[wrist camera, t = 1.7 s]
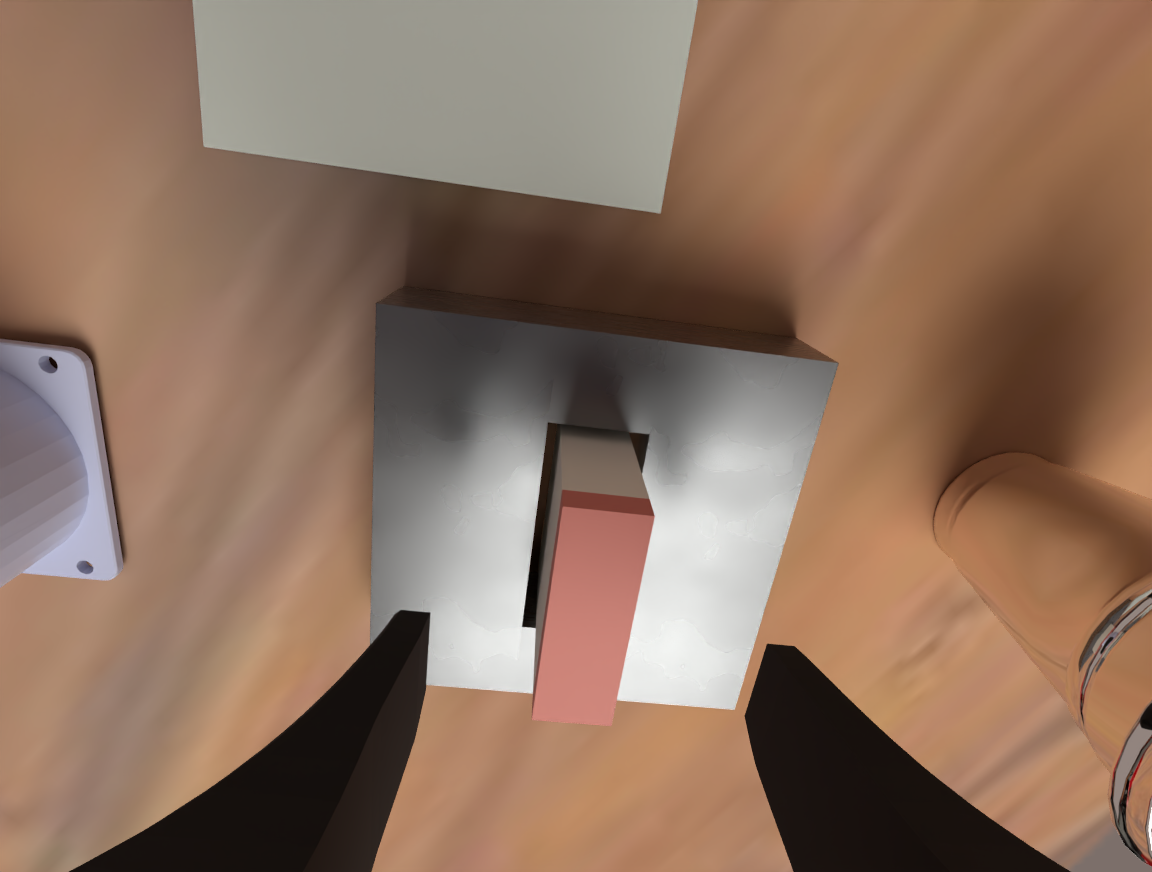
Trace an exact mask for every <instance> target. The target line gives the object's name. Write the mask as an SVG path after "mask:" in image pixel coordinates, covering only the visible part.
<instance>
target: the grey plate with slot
mask: <svg viewBox="0 0 1152 872" xmlns="http://www.w3.org/2000/svg"><path fill="white" fill-rule="evenodd" d="M837 367H838V362H836V361H834V360H833V359H831V358H829V357H828V356H826V355H824V354H823V353H821V352H819V351H818V350H816V349H814V348H812V347H811V346H809V345H807V344H806V343H804V342H802V341H801V340H799V339H797V338H792V337H784V336H777V335H769V334H762V333H754V332H747V331H739V330H731V329H724V328H716V327H709V326H701V325H694V324H686V323H678V322H671V321H663V320H656V319H648V318H640V317H633V316H625V315H618V314H610V313H603V312H595V311H587V310H580V309H572V308H565V307H557V306H550V305H542V304H534V303H527V302H519V301H512V300H504V299H496V298H489V297H481V296H474V295H466V294H459V293H451V292H443V291H436V290H428V289H421V288H413V287H406V286H403V287H402V288H400V289H398V290H397V291H395V292H394V293H392V294H390V295H389V296H387V297H385V298H384V299H382V300H381V301H379V302H377V303H376V337H375V393H374V450H373V506H372V563H371V619H370V645H371V644H372V642H373V641H374V640H375V639H376V638H377V636H378V635H379V634H380V633H381V632H382V630H383V629H384V628H385V626H386V625H387V624H388V623H389V621H390V620H391V619H392V617H393V616H394V615H395V614H396V613H397V612H398V611H400V610H409V611H420V612H431V613H430V629H429V646H428V662H427V679H426V685H435V686H447V687H460V688H472V689H485V690H497V691H509V692H522V693H533V680H534V656H535V633H536V610H537V586H538V572H529V567H530V559H531V551H532V543H533V536H534V528H535V520H536V512H537V504H538V496H539V489H540V481H541V473H542V465H543V457H544V449H545V442H546V434H547V426H548V422H549V423H558V424H566V425H575V426H584V427H592V428H601V429H609V430H618V431H626V432H630V438H631V441H632V444H633V448H634V451H635V454H636V457H637V460H638V464H639V467H640V470H641V473H642V476H643V480H644V483H645V486H646V489H647V492H648V496H649V499H650V502H651V505H652V509H653V512H654V515H655V518H654V523H653V528H652V533H651V537H650V542H649V547H648V552H647V557H646V562H645V566H644V571H643V576H642V581H641V586H640V590H639V595H638V600H637V605H636V610H635V614H634V619H633V624H632V629H631V634H630V639H629V643H628V648H627V653H626V658H625V663H624V667H623V672H622V677H621V682H620V687H619V691H618V696H617V700H621V701H633V702H646V703H658V704H670V705H683V706H695V707H707V708H720V709H732V710H735V706H736V703H737V700H738V696H739V693H740V690H741V686H742V683H743V680H744V676H745V673H746V670H747V666H748V663H749V660H750V656H751V653H752V650H753V646H754V643H755V640H756V636H757V633H758V630H759V626H760V623H761V620H762V616H763V613H764V610H765V606H766V603H767V600H768V596H769V593H770V590H771V586H772V583H773V580H774V576H775V573H776V570H777V566H778V563H779V560H780V557H781V553H782V550H783V547H784V543H785V540H786V537H787V533H788V530H789V527H790V523H791V520H792V517H793V513H794V510H795V507H796V503H797V500H798V497H799V493H800V490H801V487H802V483H803V480H804V477H805V473H806V470H807V467H808V463H809V460H810V457H811V453H812V450H813V447H814V443H815V440H816V437H817V433H818V430H819V427H820V423H821V420H822V417H823V413H824V410H825V407H826V403H827V400H828V397H829V393H830V390H831V387H832V383H833V380H834V377H835V373H836V370H837Z"/></svg>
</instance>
